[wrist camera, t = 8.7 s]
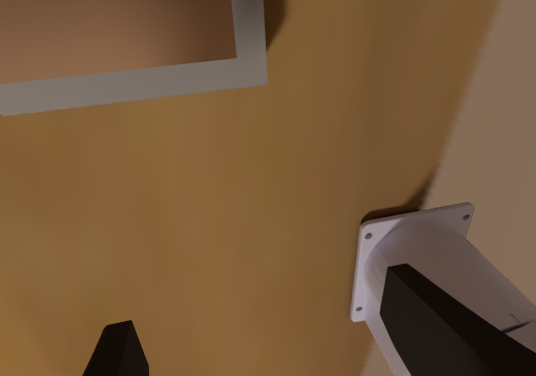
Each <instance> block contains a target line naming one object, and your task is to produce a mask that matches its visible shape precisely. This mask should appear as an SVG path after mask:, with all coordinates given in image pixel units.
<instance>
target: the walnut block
mask: <svg viewBox="0 0 536 376" xmlns="http://www.w3.org/2000/svg"><path fill="white" fill-rule="evenodd" d="M234 58H237V54H236V44H235V33H234V23H233V12H232V2H231V0H0V85H1V84H10V83H19V82H28V81H37V80H46V79H55V78H64V77H73V76H82V75H91V74H99V73H108V72H117V71H126V70H135V69H144V68H153V67H162V66H171V65H180V64H189V63H198V62H207V61H216V60H225V59H234Z"/></svg>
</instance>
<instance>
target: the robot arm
mask: <svg viewBox="0 0 536 376" xmlns="http://www.w3.org/2000/svg"><path fill="white" fill-rule="evenodd" d="M473 212H474V206H473V205H472V204H470V203H469V202H466V203H460V204H455V205H450V206H444V207H439V208H434V209H428V210H422V211H417V212H411V213H406V214H401V215H395V216H390V217H384V218H379V219H373V220H368V221H365V222H364V223H362V225H361V226H360V232H359V241H358V249H357V258H356V267H355V276H354V285H353V294H352V303H351V312H350V317H351V319H352V321H354V322H359V321H363V320H365V321H366V323H367V325H368V327H369V329H370V331H371V332H372V334H373V336H374V338H375V340H376V342H377V344H378V346H379V347H380V349H381V351H382V353H383V355H384V356H385V359H386V360H387V362H388V364H389V366H390V368H391V370H392V372H393V374H394V375H395V376H536V305H534V304H533V303H532V302H531V301H530V300H529V299H528V298H527V297H526V296H525V295H524V294H523V293H522V292H521V291H520V290H519V289H518V288H517V287H516V286H515V285H514V284H513V283H512V282H511V281H509V279H507V278H506V277H505V276H504V275H503V274H502V273H501V272H500V271H499V270H498V269H497V268H496V267H495V266H494V265H493V264H492V263H491V262H490V261H488V259H487V258H486V257H484V256H483V255H482V254H481V253H480V252H479V251H478V250H477V249H476V248H475V247H474V246H473V245H472V244H471V243H470V242H469V241H468V240H467V239H466V238H465V237H466V234H467V231H468V228H469V225H470V222H471V218H472V215H473ZM368 233H369V234H368ZM366 234H368V235H366ZM82 376H149V365H148V363H147V360H146V357H145V355H144V352H143V349H142V347H141V344H140V341H139V339H138V336H137V333H136V331H135V328H134V325H133V323H132V320H129V321H125V322H120V323H115V324H110V325H107V326H106V327H105V328H104V330H103V332H102V334H101V337H100V339H99V341H98V343H97V346H96V348H95V350H94V352H93V354H92V357H91V359H90V361H89V363H88V365H87V367H86V369H85V371H84V373H83V375H82Z"/></svg>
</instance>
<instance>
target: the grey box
mask: <svg viewBox="0 0 536 376" xmlns="http://www.w3.org/2000/svg"><path fill="white" fill-rule="evenodd" d="M231 2H232V12H233V23H234V33H235V44H236V54H237V58H234V59H225V60H216V61H207V62H198V63H189V64H180V65H171V66H162V67H153V68H144V69H135V70H126V71H117V72H108V73H99V74H91V75H82V76H73V77H64V78H55V79H46V80H37V81H28V82H19V83H10V84H1V85H0V114H1V116H10V115H18V114H27V113H35V112H43V111H52V110H60V109H68V108H76V107H85V106H93V105H101V104H110V103H118V102H126V101H135V100H143V99H151V98H160V97H168V96H176V95H184V94H193V93H201V92H209V91H218V90H226V89H234V88H243V87H251V86H259V85H268V78H267V59H266V40H265V22H264V3H263V0H231Z"/></svg>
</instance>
